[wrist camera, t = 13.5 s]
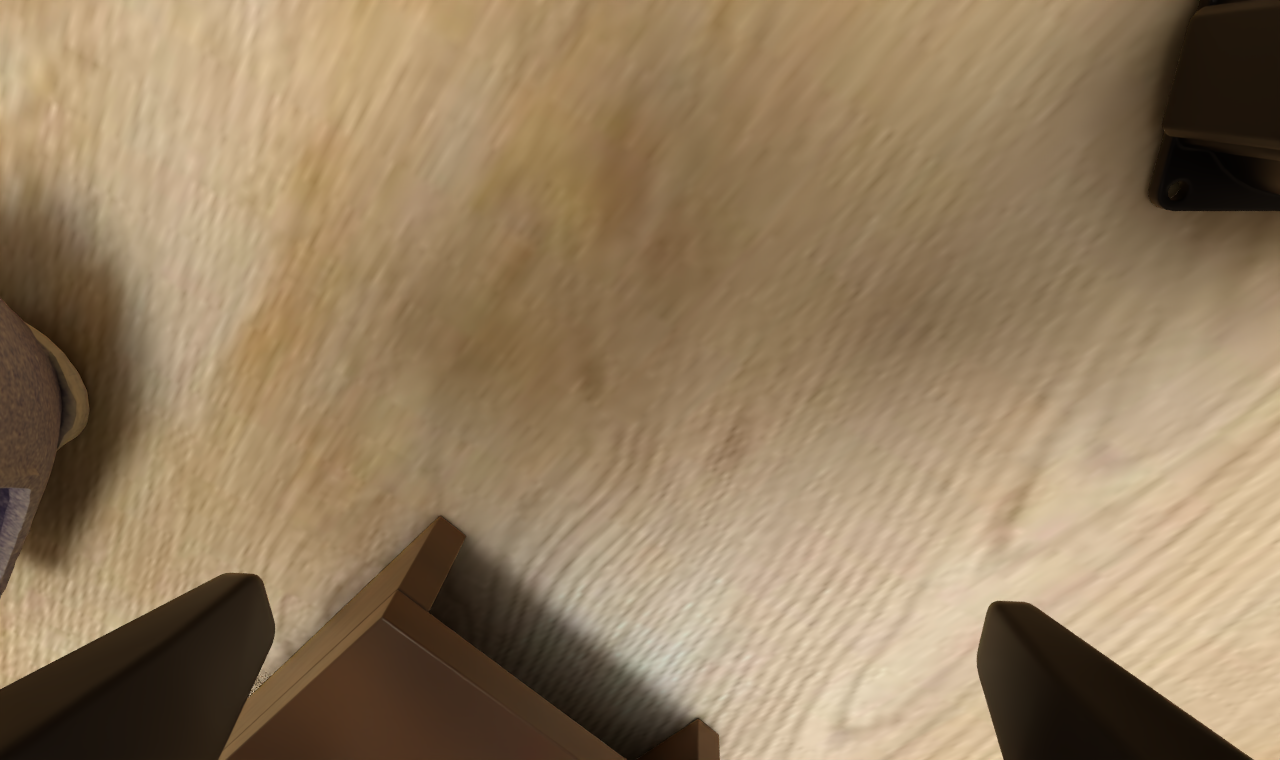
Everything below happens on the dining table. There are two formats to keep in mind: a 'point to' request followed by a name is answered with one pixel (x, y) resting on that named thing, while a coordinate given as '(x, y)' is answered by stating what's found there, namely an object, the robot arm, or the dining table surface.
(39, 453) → the toy boat
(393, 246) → the dining table surface
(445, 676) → the wooden footstool
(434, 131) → the dining table surface
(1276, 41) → the robot arm
